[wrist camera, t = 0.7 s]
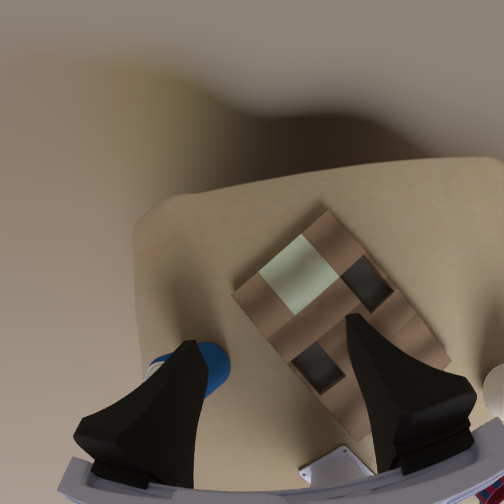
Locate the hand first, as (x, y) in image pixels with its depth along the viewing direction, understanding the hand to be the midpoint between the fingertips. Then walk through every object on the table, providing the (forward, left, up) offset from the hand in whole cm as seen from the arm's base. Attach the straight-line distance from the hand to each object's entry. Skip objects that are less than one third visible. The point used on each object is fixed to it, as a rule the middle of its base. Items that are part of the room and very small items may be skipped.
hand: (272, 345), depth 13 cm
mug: (-51, -5, -23) cm, 56 cm away
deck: (-6, -3, -23) cm, 24 cm away
